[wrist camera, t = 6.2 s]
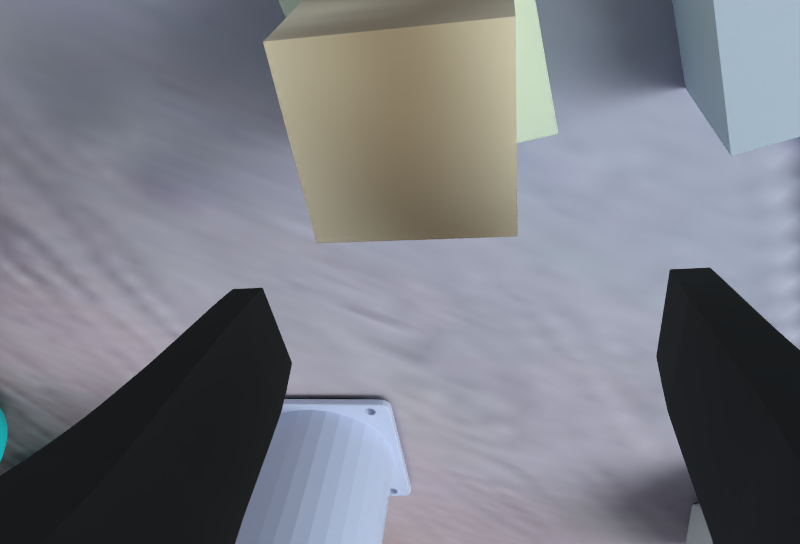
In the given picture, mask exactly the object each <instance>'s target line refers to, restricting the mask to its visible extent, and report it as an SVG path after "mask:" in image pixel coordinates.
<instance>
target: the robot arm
mask: <svg viewBox="0 0 800 544" xmlns="http://www.w3.org/2000/svg"><path fill="white" fill-rule="evenodd" d="M657 362H658V367H659V372H660V377H661V382H662V387H663V392H664V396H665V401H666V405H667V410H668V413H669V416H670V419H671V422H672V425H673V428H674V431H675V434H676V437H677V440H678V443H679V446H680V449H681V452H682V455H683V458H684V460H685V463H686V466H687V469H688V472H689V475H690V478H691V481H692V483H693V486H694V489H695V492H696V495H697V498H698V501H699V504H700V507H701V509H702V512H703V515H704V518H705V521H706V524H707V527H708V530H709V532H710V535H711V539H712V542H713V544H800V350H799V349H798V348H797V347H795V346H794V345H793V344H792V343H791V342H790V341H789V340H787V339H786V338H785V337H784V336H783V335H782V334H781V333H780V332H779V331H777V330H776V329H775V328H774V327H773V326H772V325H771V324H770V323H769V322H768V321H766V320H765V319H764V318H763V317H762V316H761V315H760V314H759V313H758V312H757V311H756V310H755V309H754V308H752V307H751V306H750V305H749V304H748V303H747V302H746V301H745V300H744V299H743V298H742V297H741V296H740V295H739V294H738V293H737V292H736V291H735V290H733V289H732V288H731V287H730V286H729V285H728V284H727V283H726V282H725V281H724V280H723V279H722V278H721V277H720V276H719V275H717V274H716V273H715V272H714V271H713V270H712V269H711V268H694V269H671V270H670V273H669V279H668V285H667V292H666V298H665V305H664V311H663V318H662V324H661V331H660V337H659V344H658V350H657ZM291 365H292V362H291V360H290V357H289V354H288V352H287V349H286V347H285V344H284V342H283V339H282V336H281V334H280V331H279V329H278V326H277V324H276V321H275V318H274V316H273V313H272V311H271V308H270V306H269V303H268V300H267V298H266V295H265V293H264V290H263V288H248V289H233V290H231V291H230V292H229V293H228V294H226V295H225V296H224V297H223V298H222V299H220V300H219V301H218V302H217V303H216V304H215V305H214V306H213V307H211V308H210V309H209V310H208V311H207V312H206V313H205V314H204V315H203V316H201V317H200V318H199V319H198V320H197V321H196V322H195V323H194V324H193V325H192V326H191V327H189V328H188V329H187V330H186V331H185V332H184V333H183V334H182V335H181V336H180V337H179V338H177V339H176V340H175V341H174V342H173V343H172V344H171V345H170V346H169V347H167V348H166V349H165V350H164V351H163V352H162V353H161V354H160V355H159V356H157V357H156V358H155V359H154V360H153V361H152V362H151V363H150V364H149V365H147V366H146V367H145V368H144V369H143V370H142V371H140V372H139V373H138V374H137V375H136V376H134V377H133V378H132V379H131V380H130V381H128V382H127V383H126V384H125V385H124V386H122V387H121V388H120V389H119V390H118V391H116V392H115V393H114V394H113V395H112V396H111V397H109V398H108V399H107V400H106V401H105V402H103V403H102V404H101V405H100V406H98V407H97V408H96V409H95V410H93V411H92V412H91V413H90V414H88V415H87V416H86V417H84V418H83V419H82V420H80V421H79V422H78V423H76V424H75V425H74V426H73V427H71V428H70V429H68V430H67V431H66V432H64V433H63V434H61V435H60V436H59V437H57V438H56V439H55V440H53V441H52V442H50V443H49V444H48V445H46V446H45V447H43V448H42V449H41V450H39V451H38V452H36V453H35V454H33V455H32V456H30V457H29V458H27V459H26V460H24V461H23V462H21V463H20V464H18V465H16V466H15V467H13V468H12V469H10V470H9V471H7V472H6V473H4V474H2V475H1V476H0V544H382V539H383V533H384V526H385V520H386V513H387V507H388V500H389V495H390V496H406V495H408V494H410V490H411V484H410V480H409V476H408V472H407V468H406V464H405V460H404V456H403V452H402V448H401V444H400V440H399V435H398V431H397V427H396V423H395V419H394V415H393V411H392V407H391V405H390V403H388V402H387V401H385V400H380V399H285V394H286V390H287V385H288V380H289V375H290V370H291Z"/></svg>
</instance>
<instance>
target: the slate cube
mask: <svg viewBox="0 0 800 544" xmlns="http://www.w3.org/2000/svg"><path fill="white" fill-rule="evenodd" d="M672 4H673V10H674V17H675V23H676V30H677V36H678V43H679V50H680V56H681V63H682V69H683V76H684V82H685V88H686V89H687V91H688V92H689V94H690V95H691V97H692V98H693V100H694V101H695V103H696V104H697V106H698V107H699V109H700V110H701V112H702V113H703V115H704V116H705V118H706V119H707V121H708V122H709V124H710V125H711V127H712V128H713V130H714V131H715V133H716V134H717V136H718V137H719V139H720V140H721V142H722V143H723V145H724V146H725V147H726V149H727V150H728V152H729V153H730V155H731V156H733V155H736V154H740V153H743V152H747V151H750V150H754V149H757V148H761V147H764V146H768V145H771V144H775V143H779V142H782V141H786V140H789V139H793V138H796V137H800V0H672Z"/></svg>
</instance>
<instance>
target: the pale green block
mask: <svg viewBox="0 0 800 544" xmlns="http://www.w3.org/2000/svg"><path fill="white" fill-rule="evenodd" d="M278 1H279V4H280V6H281V9H282V11H283V13H284V16H285V18H286V17H287V16H288V15H289V14H290V13H291V12H292V11H293V10H294V9H295V8H296V7H297V6H298V5H299V4H300V3H301V2H302V1H303V0H278ZM514 4H515V14H516V115H517V143H520V142H524V141H528V140H533V139H537V138H541V137H545V136H550V135H554V134H558V130H557V124H556V118H555V112H554V106H553V101H552V95H551V89H550V83H549V77H548V71H547V66H546V60H545V54H544V48H543V42H542V37H541V31H540V25H539V19H538V13H537V8H536V2H535V0H514Z"/></svg>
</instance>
